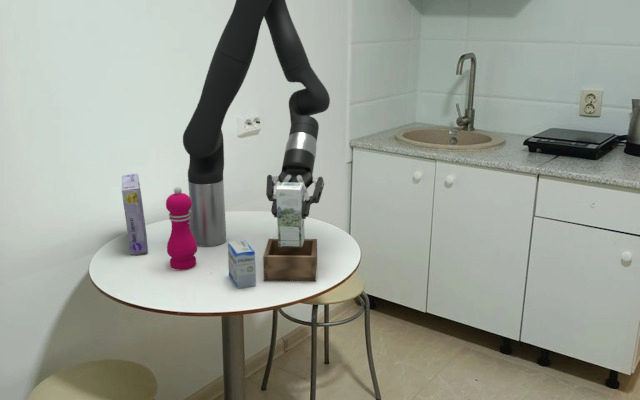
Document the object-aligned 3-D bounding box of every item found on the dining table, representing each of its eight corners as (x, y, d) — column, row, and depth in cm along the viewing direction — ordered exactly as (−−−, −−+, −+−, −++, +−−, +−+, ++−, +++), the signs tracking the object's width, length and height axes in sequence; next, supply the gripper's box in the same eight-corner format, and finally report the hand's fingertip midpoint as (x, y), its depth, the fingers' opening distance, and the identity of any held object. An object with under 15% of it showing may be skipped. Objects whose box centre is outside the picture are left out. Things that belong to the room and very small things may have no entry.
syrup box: (305, 239, 142) (303, 181, 138) (302, 248, 137) (300, 188, 133) (282, 238, 143) (279, 181, 139) (277, 247, 137) (275, 188, 133)
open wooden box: (263, 281, 136) (263, 256, 134) (269, 261, 148) (268, 238, 146) (315, 281, 136) (315, 257, 134) (317, 261, 147) (317, 238, 146)
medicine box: (228, 276, 139) (226, 241, 136) (246, 273, 141) (245, 239, 138) (237, 289, 132) (236, 253, 130) (256, 286, 134) (255, 250, 131)
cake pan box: (127, 232, 168) (121, 172, 163) (145, 230, 170) (140, 171, 165) (128, 256, 151) (121, 190, 146) (148, 254, 152) (142, 188, 147)
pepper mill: (203, 261, 147) (198, 184, 142) (188, 272, 141) (182, 192, 135) (178, 258, 150) (172, 182, 144) (162, 268, 143) (155, 189, 137)
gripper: (268, 146, 142) (255, 207, 134) (326, 147, 139) (317, 210, 131) (274, 162, 149) (263, 222, 141) (330, 164, 146) (322, 225, 138)
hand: (289, 216), depth 136 cm, fingers closed on syrup box, 6 cm apart
